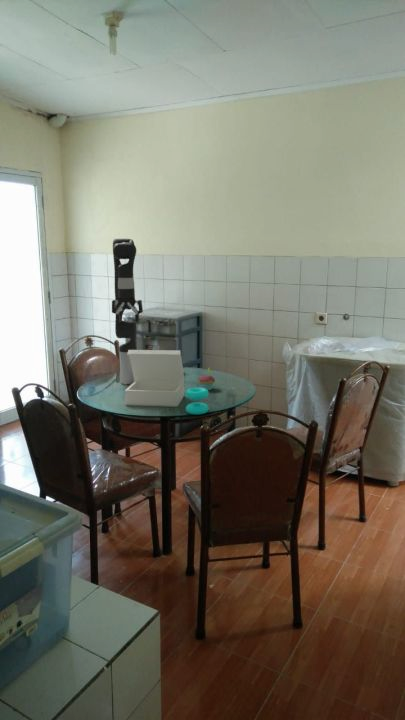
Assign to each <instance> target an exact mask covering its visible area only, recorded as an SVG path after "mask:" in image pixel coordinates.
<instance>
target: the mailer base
mask: <svg viewBox="0 0 405 720" xmlns="http://www.w3.org/2000/svg"><path fill="white" fill-rule="evenodd" d="M124 396H125V397H124V398H125V399H124V401H125V406H128V407H129V406H133V407H134V406H135V407H136V406H137V407H140V406H141V407H170V408H172V407H173V408H176V407H177V408H178V407H179V406H180V404H181V402H182V401H183V399H184V397H185V381H184V382H153V381H135V382H134V383H133V384H129V386H128V387H127V388H126V389H125V390H124Z"/></svg>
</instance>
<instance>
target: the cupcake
mask: <svg viewBox="0 0 405 720" xmlns="http://www.w3.org/2000/svg"><path fill="white" fill-rule="evenodd" d="M210 369H211V368H210V367H208V368H207V374H205V375H201V376H200V377H199V378H198V379H197V382H198V384H200V388H205V389H207V390H208V391H211V390H212V389H213V386H214V383H215V382H216V379H215V378H214V377H213V376H212V375H210Z"/></svg>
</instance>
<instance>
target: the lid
mask: <svg viewBox="0 0 405 720" xmlns="http://www.w3.org/2000/svg"><path fill="white" fill-rule="evenodd" d="M127 355H129V357H130V362H131V367H132V371H133V376H134V381H143V382H184V383H185V376H184V367H183V360H182V352H181V350H180V349H179V350H177V349H176V350H173V349H172V350H170V349H169V350H166V349H161V345H159V344H157V345H155V344H153V345H152V349H137V350H128V353H127Z"/></svg>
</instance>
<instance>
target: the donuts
mask: <svg viewBox="0 0 405 720" xmlns="http://www.w3.org/2000/svg"><path fill="white" fill-rule="evenodd" d="M184 395H185V396H186V397H187V398H188V399H191V400H203V399H206V398H207V397H208V396H209V390H207V389H205V388H202V387H190V388H187V390H185V391H184ZM209 410H210V408H209V405H208V404H206V403H204V402H199V401H198V402H197V401H196V402H195V401H194V402H191V403H188V404H187V406H186V407H185V411H186V413H188V414H190V415H193V416H194V415H195V416H198V415H204V414H207V413H208V412H209Z"/></svg>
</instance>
